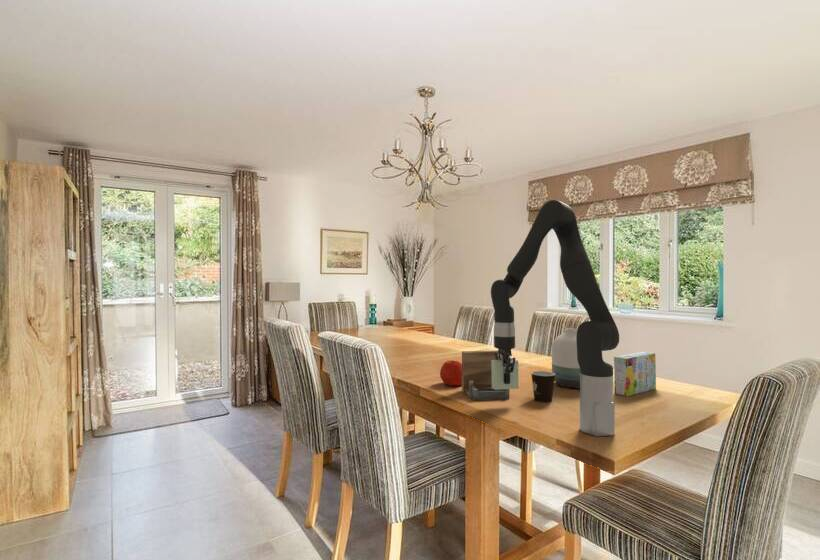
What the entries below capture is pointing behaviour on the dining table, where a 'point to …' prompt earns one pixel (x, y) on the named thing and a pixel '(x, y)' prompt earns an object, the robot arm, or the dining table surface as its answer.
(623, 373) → the snack box
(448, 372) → the apple
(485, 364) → the desk organizer
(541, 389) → the coffee mug
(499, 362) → the pale green flat block
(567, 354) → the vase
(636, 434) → the dining table surface
